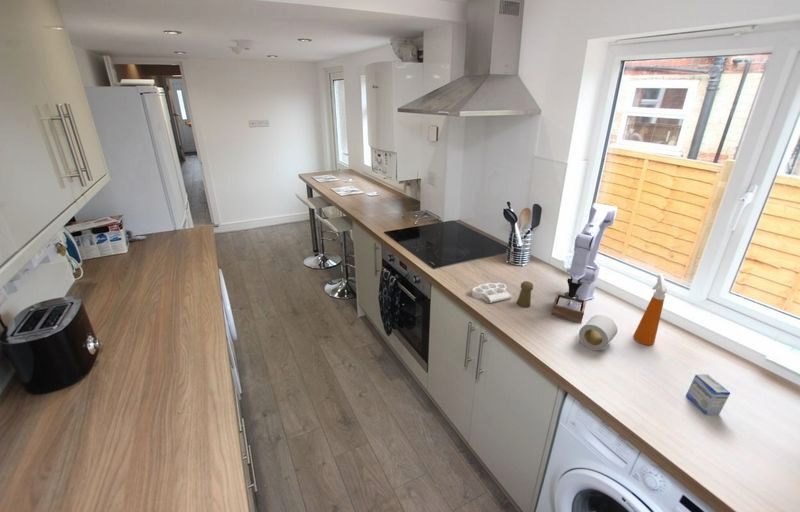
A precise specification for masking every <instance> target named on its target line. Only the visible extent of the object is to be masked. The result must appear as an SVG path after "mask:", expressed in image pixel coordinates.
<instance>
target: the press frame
mask: <svg viewBox="0 0 800 512" xmlns="http://www.w3.org/2000/svg"><path fill="white" fill-rule="evenodd" d="M560 297H562V298H566V297H565V296H564V294H561V293H556V296H555V298H554V301H553V305H552V308H551V313H550V316H553V317H557V318H561V319H563V320H567V321H572V322H575V323H579V324H582V321H583V318H584V315H585V309H586V304H587V300H582V299H578V300H574V301H578V302H582V304H581V309H580V311H578V310H574V309H570V308H566V307H562V306H559V305H557V304H558V301H559V298H560ZM566 299H568V298H566Z"/></svg>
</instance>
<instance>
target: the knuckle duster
mask: <svg viewBox="0 0 800 512" xmlns="http://www.w3.org/2000/svg"><path fill="white" fill-rule="evenodd" d="M507 288H508V287H507V285H506V284H505V283H502V282H496V283H493V282H487V283H483V284H482V283H481V284H479V285H478V286H476V287H475V286H474V287H472V290H471V296H472V297H473V298H475V299H480V300H481V299H482V300H484V301H486V302H487V303H488V304H492V303H496V302H500V301H501V302H502V301H506V300H511V298H512V295H511V293H510V292H508V291H507Z"/></svg>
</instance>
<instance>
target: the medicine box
mask: <svg viewBox="0 0 800 512" xmlns="http://www.w3.org/2000/svg"><path fill="white" fill-rule="evenodd" d="M730 395H731V392H730V391H729V390H728V389H726V388H725V387H724V386H722V384H720V383H719V382H717V380H715V379H714V378H713V377H712V376H710V375H709V374H707V373H705V374H704V373H702V374H701V373H700V374H695V375H694V377H693V379H692V381H691V383H690V386H689V388H688V390H687V391H686V394H685V396H686V398H687V399H688V400H690V401H691V402H692V403H693V404H694V405H695V406H697V408H699V409H700V410H701V411H702V412H703V413H704V414H705V415H706V416H709V415H711V416H712V415H713V416H714V415H720V414H721V413H722V410H723V409H724V406H725V405H726V403H727V400H728V399H729V397H730Z"/></svg>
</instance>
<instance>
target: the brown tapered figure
mask: <svg viewBox="0 0 800 512" xmlns="http://www.w3.org/2000/svg"><path fill="white" fill-rule="evenodd" d="M533 289H534V284H533V283H532V282H531V281H528V280H527V281H522V282H521V284H520V291H519V295H518V298H517V300H516V305H517V307H520V308H524V309H528V308H530V307H531V303H532V302H531V299H532V290H533Z"/></svg>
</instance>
